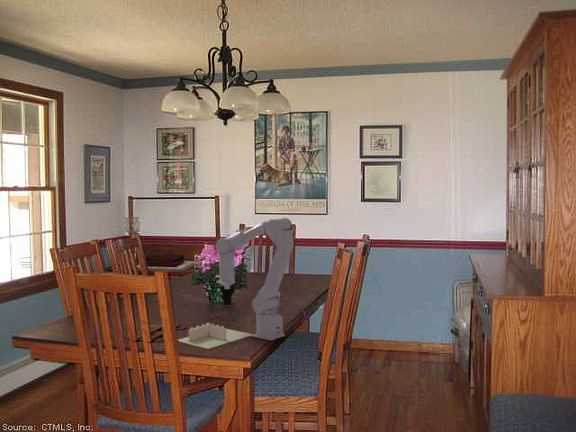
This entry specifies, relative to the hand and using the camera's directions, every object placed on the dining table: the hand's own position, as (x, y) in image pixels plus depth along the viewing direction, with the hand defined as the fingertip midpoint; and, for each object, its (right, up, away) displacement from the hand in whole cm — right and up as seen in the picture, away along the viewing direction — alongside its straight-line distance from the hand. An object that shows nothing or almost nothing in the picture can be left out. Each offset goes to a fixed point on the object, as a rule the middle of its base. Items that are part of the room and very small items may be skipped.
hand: (227, 304), depth 222 cm
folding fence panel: (-2, -10, -12) cm, 16 cm away
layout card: (-3, -11, -11) cm, 15 cm away
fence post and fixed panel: (-9, -11, -12) cm, 18 cm away
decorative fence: (-26, -11, -4) cm, 29 cm away
